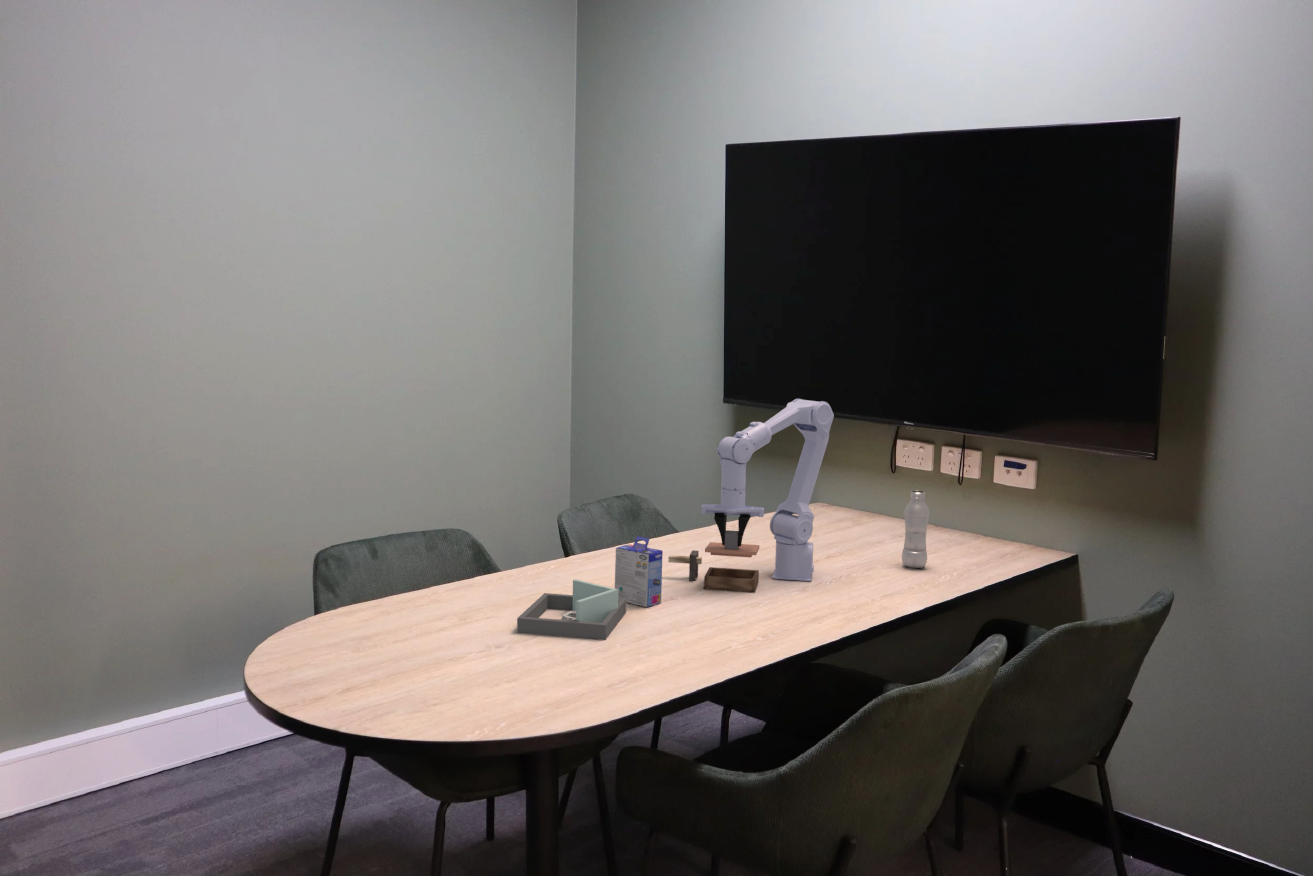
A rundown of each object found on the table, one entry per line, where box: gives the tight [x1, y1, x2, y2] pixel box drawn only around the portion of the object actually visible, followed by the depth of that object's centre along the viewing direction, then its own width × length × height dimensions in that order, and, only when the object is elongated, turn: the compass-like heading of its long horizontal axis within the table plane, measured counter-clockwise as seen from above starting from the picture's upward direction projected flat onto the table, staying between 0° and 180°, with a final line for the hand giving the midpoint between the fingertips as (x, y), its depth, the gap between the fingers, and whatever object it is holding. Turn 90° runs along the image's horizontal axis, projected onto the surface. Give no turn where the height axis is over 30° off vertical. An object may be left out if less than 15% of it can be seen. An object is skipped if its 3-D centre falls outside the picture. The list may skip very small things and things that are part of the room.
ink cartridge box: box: [614, 535, 664, 608], centre depth 224 cm, size 10×6×14 cm, turn 53°
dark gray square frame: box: [516, 592, 627, 641], centre depth 209 cm, size 18×18×3 cm
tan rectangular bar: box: [667, 554, 703, 565], centre depth 244 cm, size 8×2×1 cm, turn 79°
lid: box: [704, 529, 760, 558], centre depth 238 cm, size 12×9×6 cm
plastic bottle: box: [901, 489, 930, 569], centre depth 258 cm, size 6×7×20 cm
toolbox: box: [688, 550, 760, 594], centre depth 240 cm, size 16×10×7 cm, turn 79°
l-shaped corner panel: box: [560, 579, 618, 623], centre depth 209 cm, size 12×12×8 cm
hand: (731, 545), depth 236 cm, fingers closed on lid, 3 cm apart
